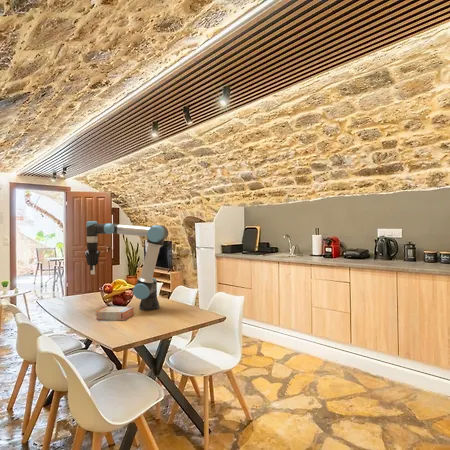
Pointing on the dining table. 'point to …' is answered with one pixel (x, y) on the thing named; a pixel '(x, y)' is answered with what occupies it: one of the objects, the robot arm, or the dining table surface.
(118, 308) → the cracker box
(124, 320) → the mat
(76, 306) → the dining table surface
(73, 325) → the dining table surface
